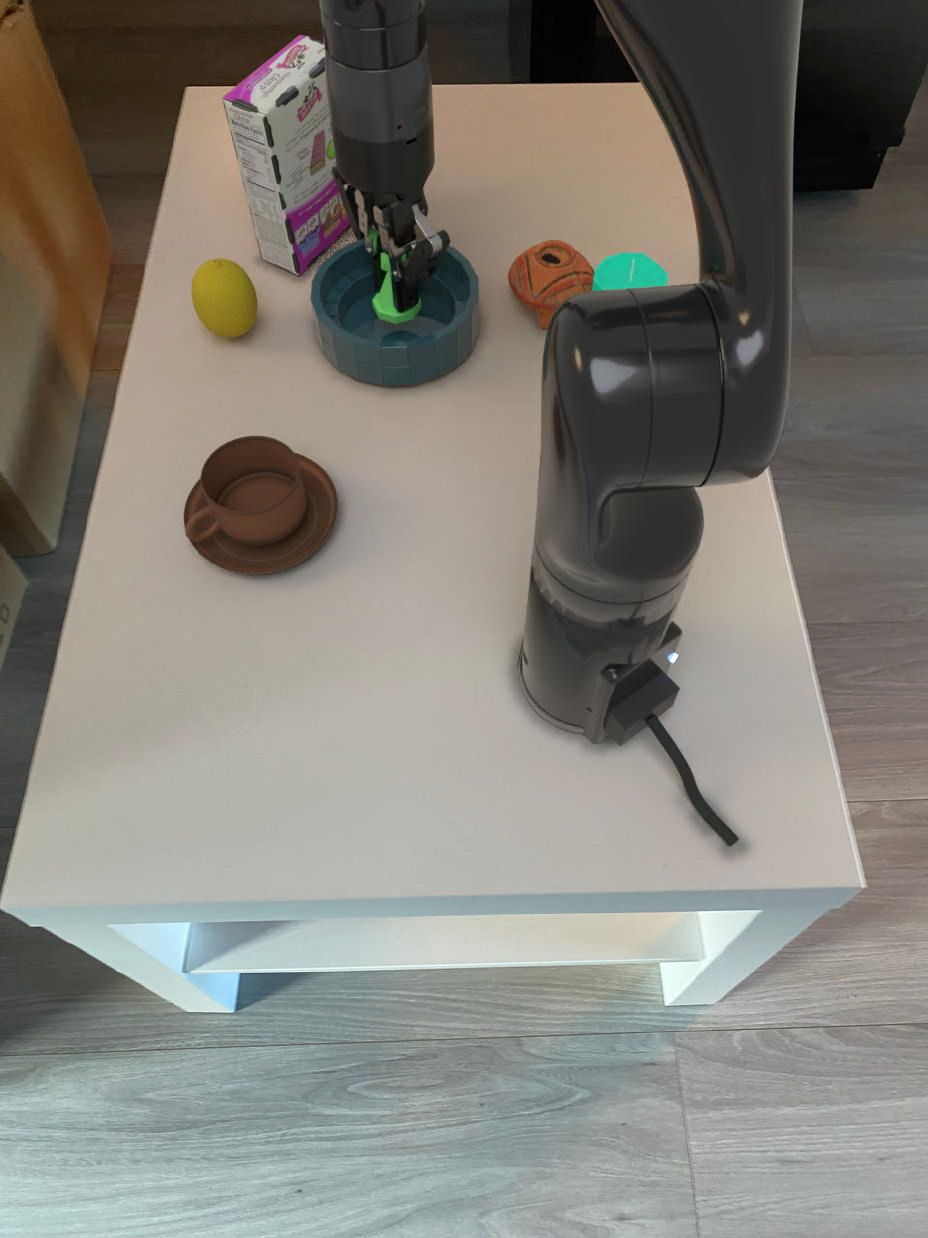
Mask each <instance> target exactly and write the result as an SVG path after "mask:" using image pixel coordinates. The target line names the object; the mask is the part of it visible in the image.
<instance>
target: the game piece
mask: <svg viewBox="0 0 928 1238" xmlns="http://www.w3.org/2000/svg"><path fill="white" fill-rule="evenodd" d="M401 260H402V262H403V261H405V260H406V254H404V255H403V256H402V258H401ZM381 269H383V270H385V271H387V274H386V277H385V279H384V282H383V285H382V288H381V290H380V293H377V294H376V296H375V297H374V298H373V300H372V302H373V308H374V310H375V312H376V314H377V316H378V318H379V319H381V320H385V321H388V322H391V323H395V324H397V323H401V322H405V321H408V320H412V319H414V318H415V316H416V315H417V313H418V312H419V310H420V308H421V299H420V298H419V303H418V304H417V305H416V306H414V307H412V308H410V309H408V310H406V311H405V312H403V313H399V312H398V311H397V310H396V309H395V308H394V305H393V294H392V283H391V275H392V273H391V268H390V261H389V256H388V255H386V254H385V253H384V252H383V253H381Z"/></svg>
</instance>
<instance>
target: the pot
mask: <svg viewBox="0 0 928 1238" xmlns="http://www.w3.org/2000/svg"><path fill="white" fill-rule="evenodd" d="M594 272H595V269H594V268H593V267H592V266H591V264H590V262H589V261H588V259H587V258H586V257H585V255H583V254H582V253H581V252H579V250H577V249H575V247H573V246H572V245H570V244H569V243H567V242H566V241H563V240H558V239H549V240H545V241H542V242H540V243H538V244H534V245H532V246H530V247H529V248H527V249H525V250H524V251H523V252H521V253H520V254H519V255H518V256H516V258H515V259H514V260H513V262H512V263H511V265H510V267H509V269H508V273H507V281H508V285H509V288H510V289H511V291H512V293H513V294H514V296H515V297H516V298H517V299H518V301H520V302H521V303H522V304H523V305H525V306H527V307H528V308H530V309H531V310H535V311H536V313H537V317H538V320H539V324H540V328H541V329H544V330H546V329H547V330H548V327H549V324H550V321H551V318H552V316H553V314H554V313H555V311H556V309H557V307H558V306H559V305H560V304H561V303H562V301H564V300H565V299H566V298H567V297H569V296H571V295H574V294H578V293H583V292H592V287H593V279H594Z"/></svg>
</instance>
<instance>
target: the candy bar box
mask: <svg viewBox="0 0 928 1238" xmlns="http://www.w3.org/2000/svg"><path fill="white" fill-rule="evenodd" d="M221 99H222V104H223V107H224V111H225V115H226V119H227V124H228V128H229V130H230V135H231V139H232V140H231V141H232V143H233V148H234V152H235V156H236V160H237V163H238V168H239V172H240V174H241V175H240V176H241V178H242V179H241V180H242V184H243V187H244V192H245V196H246V201H247V203H248V209H249V212H250V215H251V220H252V224H253V229H254V233H255V237H256V240H257V246H258V250H259V252H260V257H261V260H262V261H263V262H265V263H268V264H269V265H272V266H275V267H277V268H280V269H282V270H285V271H286V272H289V273H291V274H293V275H295V276H298V277H299V276H301V275H303V274H304V273H305V272H306V271H307V270H308V269H309V268H311V266H312V265H313V264H314V263H315V262H316V261H317V260H318V259H319V258H320V257H321V256H322V255H323V254H324V253H325V252H326V251H327V250H328V249H329V248H330V247H332V245H333V244H334V243H335V242H336V241H337V240H339V238H340V237H341V236H343V234H345V232H346V231H348V229H349V228H351V225H350V222H349V219H348V216H347V214H346V211H345V208H344V205H343V202H342V199H341V197H340V194H339V191H338V188H337V185H336V182H335V180H334V177H333V174H332V168H333V167H336V166H337V165H336V158H335V150H334V143H333V135H332V127H331V120H330V112H329V105H328V97H327V90H326V80H325V45H324V41H321V40H319V39H313V38H312V37H311V36H309V35H308V36H307V35H302V34H299V35H298V36H296V37H295V38H294V39H293V40H292V41H290V42H289V43H288V44H287V45H285V46H284V47H283V48H282V49H280V50H279V51H278V52H277V53H275V54H274V55H273V56H271V58H269V59H268V60H267V61H266V62H264V63H263V64H262V65H260V66H259V67H258V68H256V70H254V71H253V72H252V73H250V74H249V75H248V76H246V78H244V79H243V80H242V81H240V82H239V83H237V84H236V86H234V87H233V88H232V89H231V90H229V91H228V92H227V93H226V94H224V95H223V96H222V97H221ZM357 212H358V209H357ZM358 215H359V213H358Z"/></svg>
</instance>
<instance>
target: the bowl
mask: <svg viewBox="0 0 928 1238" xmlns="http://www.w3.org/2000/svg"><path fill="white" fill-rule="evenodd" d="M407 259H409V252H408V253H406V260H407ZM479 284H480V283H479V277H478V275H477V273H476V271H475V269H474V266H473V265H472V263H471V262H470V260H469V259H468V258H467V257H466V256H464V255H463V254H462V253H461V252H460V251H459V250H458V249H456V248H455V247H454V246H451V245H449V247H448V249H447V251H446V253H445V255H444V257H443V259H442V261H441V262H440V264H439V266H438V268H437V270H436V272H435V274H434V275H432V276H430V277H427V278H425V279H423V280H421V281H419V282H418V286H419V298H420V299H421V308H420V310H419V312H418V313H417V315H416V316H415V318H414V319H412V320H408V321H405V322H401V323H397V324H395V323H391V322H388V321H385V320H381V319H379V318H378V316H377V314H376V312H375V310H374V308H373V302H372V300H373V298H374V297H375V296H376V294H377V293H378V292H377V291H376V290H375V284H374V276H373V267H372V258H371V257H370V256H369V255H368V254H367V252H366V249H365V241H364V239H361V240H358V239H356V240H354V241H353V242H350V243H349V244H347V245H345V246H343V247H340V248H339V249H337V250H336V251H335V252H333V253H332V254H331V255H330V256H329V257H328V258H327V259H325V260H324V261H323V262H322V263H321V264H320V265H319V268H318V269H317V270H316V273H315V274H314V276H313V278H312V280H311V287H310V305H311V310H312V316H313V321H314V327H315V332H316V333H315V334H316V338H317V341H318V343H319V346H320V348H321V351H322V354H323V355H324V356H325V358H326V359H327V360H328V361H329V362H330V363H331V364H332V365H333V366H334V367H335V368H337V370H339V371H340V372H342V373H344V374H345V375H349V376H350V377H352V378H354V379H356V380H358V381H360V382H365V383H370V384H374V385H378V386H384V387H391V386H392V387H393V386H396V387H397V386H399V387H400V386H412V385H417V384H420V383H424V382H427V381H431V380H435V379H438V378H439V377H441V376H443V375H445V374H446V373H448V372H450V371H452V370H453V369H455V368H457V367H459V365H460V364H461V363H462V362H463V361H464V360H465V359H466V358H467V357H468V356H469V355H470V354H471V353H472V351H473V349H474V347H475V344H476V341H477V339H478V336H479V334H480V285H479Z"/></svg>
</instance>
